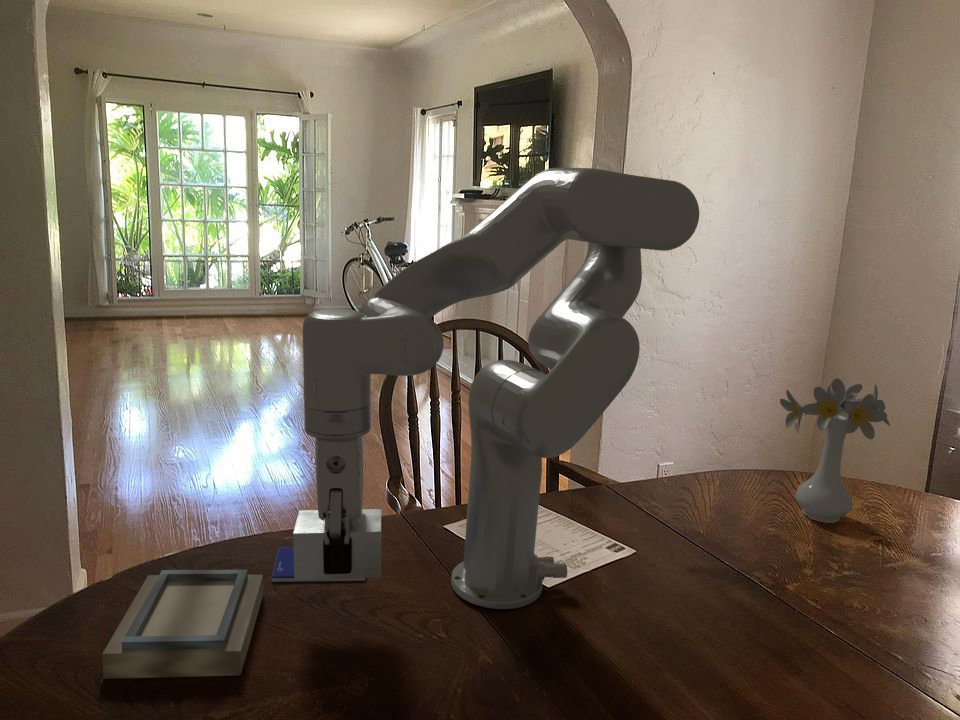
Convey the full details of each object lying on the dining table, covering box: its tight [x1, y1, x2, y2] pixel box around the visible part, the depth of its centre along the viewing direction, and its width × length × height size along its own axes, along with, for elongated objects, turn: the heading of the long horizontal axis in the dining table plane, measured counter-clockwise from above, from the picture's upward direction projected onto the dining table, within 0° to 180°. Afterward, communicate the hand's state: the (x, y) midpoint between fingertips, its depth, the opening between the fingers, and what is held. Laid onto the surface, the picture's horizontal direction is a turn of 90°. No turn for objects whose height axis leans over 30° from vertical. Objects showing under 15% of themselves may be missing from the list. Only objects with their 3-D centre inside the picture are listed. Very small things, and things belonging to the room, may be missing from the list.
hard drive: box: [271, 546, 366, 583], centre depth 104 cm, size 2×8×12 cm
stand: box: [101, 569, 264, 680], centre depth 86 cm, size 14×16×4 cm
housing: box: [292, 508, 382, 580], centre depth 89 cm, size 10×6×7 cm, turn 97°
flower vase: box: [779, 377, 891, 522], centre depth 129 cm, size 13×18×25 cm
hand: (339, 556), depth 89 cm, fingers closed on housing, 6 cm apart
